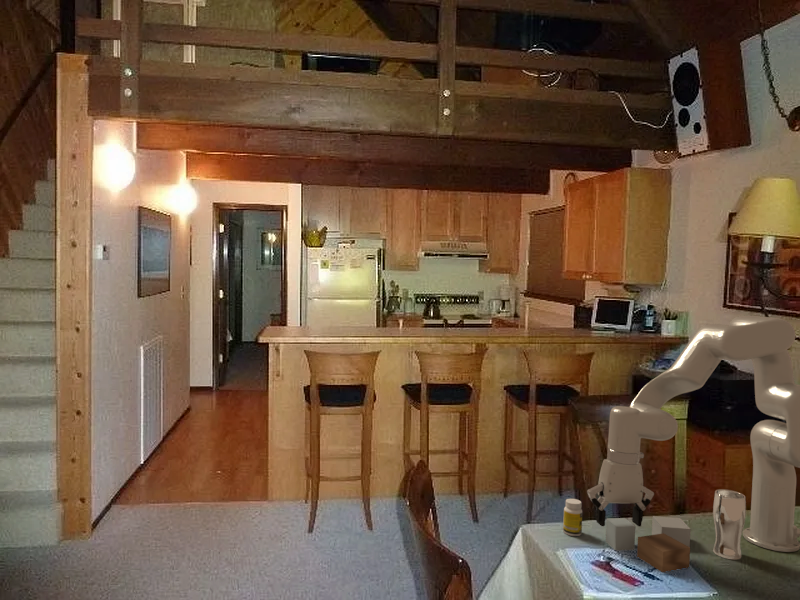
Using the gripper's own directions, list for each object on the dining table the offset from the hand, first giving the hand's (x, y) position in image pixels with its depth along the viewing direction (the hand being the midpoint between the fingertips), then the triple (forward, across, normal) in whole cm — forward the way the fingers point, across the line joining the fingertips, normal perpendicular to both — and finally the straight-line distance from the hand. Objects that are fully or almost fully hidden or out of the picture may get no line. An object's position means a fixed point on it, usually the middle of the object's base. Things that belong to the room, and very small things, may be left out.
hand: (618, 524), depth 145 cm
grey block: (+5, -16, -2) cm, 17 cm away
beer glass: (+5, -26, +6) cm, 27 cm away
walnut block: (+6, -7, +9) cm, 12 cm away
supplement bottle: (+6, +8, -8) cm, 13 cm away
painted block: (+6, -1, 0) cm, 6 cm away
